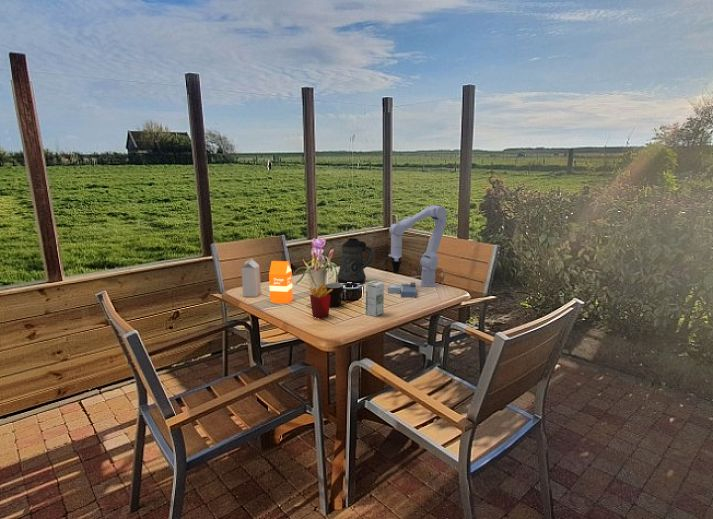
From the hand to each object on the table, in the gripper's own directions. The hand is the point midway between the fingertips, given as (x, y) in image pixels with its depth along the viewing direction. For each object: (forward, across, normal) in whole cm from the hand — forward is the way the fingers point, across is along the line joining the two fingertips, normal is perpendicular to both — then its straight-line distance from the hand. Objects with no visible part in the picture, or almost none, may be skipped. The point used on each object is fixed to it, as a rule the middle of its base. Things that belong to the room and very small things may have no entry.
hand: (395, 271), depth 226 cm
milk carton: (+10, +15, -74) cm, 76 cm away
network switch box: (+10, +9, +6) cm, 15 cm away
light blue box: (+10, +6, -1) cm, 11 cm away
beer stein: (+10, -14, -24) cm, 29 cm away
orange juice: (+10, +24, -56) cm, 62 cm away
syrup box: (+10, +41, -10) cm, 44 cm away
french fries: (+10, +46, -32) cm, 57 cm away
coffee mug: (+10, +29, -29) cm, 42 cm away
